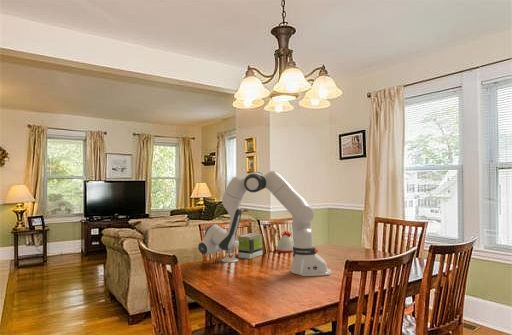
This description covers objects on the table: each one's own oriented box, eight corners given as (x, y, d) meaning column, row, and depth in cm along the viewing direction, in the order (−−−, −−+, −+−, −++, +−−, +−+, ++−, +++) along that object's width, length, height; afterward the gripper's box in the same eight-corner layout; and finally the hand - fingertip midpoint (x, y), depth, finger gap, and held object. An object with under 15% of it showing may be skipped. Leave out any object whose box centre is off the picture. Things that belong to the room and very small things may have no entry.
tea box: (251, 253, 245) (251, 232, 246) (262, 255, 239) (262, 233, 240) (237, 257, 233) (237, 235, 234) (249, 259, 227) (249, 236, 228)
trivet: (239, 258, 228) (239, 257, 228) (237, 262, 217) (237, 261, 218) (223, 258, 229) (223, 257, 229) (220, 262, 218) (220, 261, 218)
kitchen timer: (290, 253, 244) (289, 232, 245) (273, 251, 251) (273, 231, 252) (298, 250, 256) (298, 230, 256) (282, 248, 263) (282, 228, 264)
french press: (230, 253, 219) (231, 228, 220) (223, 252, 222) (223, 228, 223) (237, 251, 227) (237, 227, 227) (230, 250, 229) (230, 226, 230)
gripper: (232, 240, 208) (244, 237, 220) (205, 237, 218) (217, 234, 230) (232, 251, 207) (244, 247, 219) (205, 247, 217) (217, 244, 229)
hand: (230, 240), depth 225 cm, fingers closed on french press, 6 cm apart
